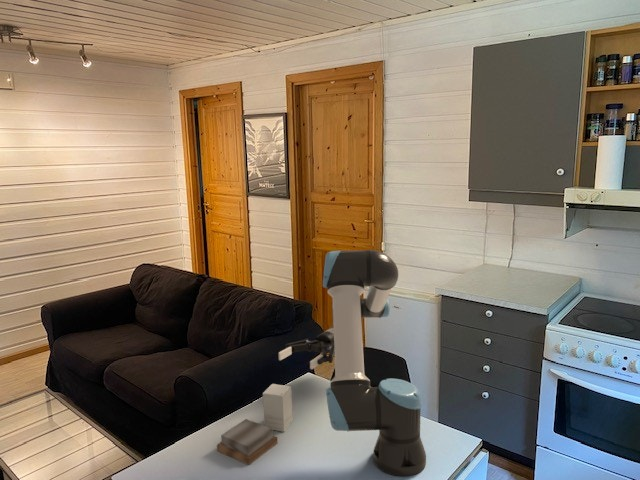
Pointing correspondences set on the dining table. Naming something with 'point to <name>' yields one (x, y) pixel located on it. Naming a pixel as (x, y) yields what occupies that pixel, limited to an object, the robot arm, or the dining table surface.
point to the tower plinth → (247, 441)
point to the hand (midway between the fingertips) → (294, 360)
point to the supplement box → (277, 407)
